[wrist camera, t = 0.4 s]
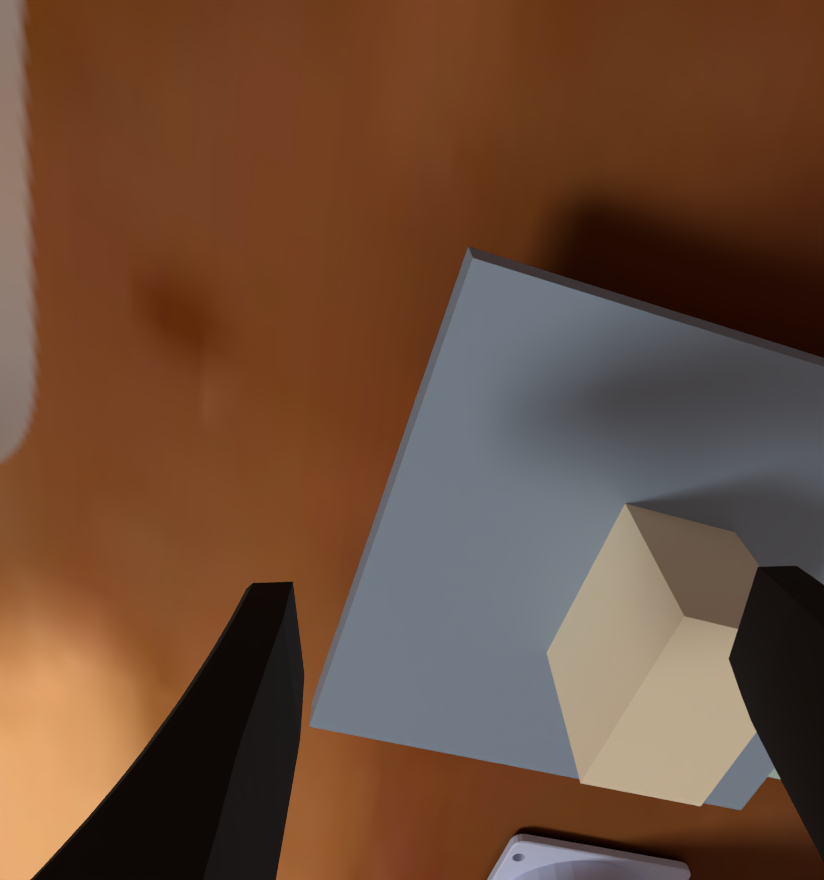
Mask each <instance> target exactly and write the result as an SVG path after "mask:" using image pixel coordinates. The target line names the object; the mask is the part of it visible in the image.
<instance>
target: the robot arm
mask: <svg viewBox="0 0 824 880" xmlns="http://www.w3.org/2000/svg"><path fill="white" fill-rule="evenodd" d="M729 661H730V664H731V667H732V670H733V673H734V676H735V679H736V682H737V685H738V688H739V690H740V693H741V696H742V698H743V701H744V704H745V706H746V709H747V712H748V714H749V717H750V719H751V722H752V724H753V726H754V728H755V730H756V732H757V734H758V736H759V738H760V740H761V742H762V744H763V746H764V748H765V750H766V752H767V754H768V756H769V758H770V760H771V761H772V763H773V765H774V767H775V769H776V771H777V773H778V775H779V777H780V779H781V781H782V783H783V785H784V787H785V789H786V790H787V792H788V794H789V796H790V798H791V800H792V802H793V804H794V806H795V808H796V810H797V812H798V814H799V815H800V817H801V819H802V821H803V823H804V825H805V827H806V829H807V831H808V833H809V835H810V837H811V839H812V840H813V842H814V844H815V846H816V848H817V850H818V852H819V854H820V856H821V858H822V860H823V862H824V585H823V584H822V583H820V582H819V581H818V580H816V579H815V578H814V577H812V576H811V575H809V574H808V573H806V572H805V571H804V570H802V569H801V568H799V567H798V566H768V567H758V568H757V571H756V574H755V577H754V580H753V583H752V587H751V590H750V593H749V596H748V599H747V602H746V605H745V609H744V612H743V615H742V618H741V621H740V624H739V628H738V631H737V634H736V637H735V640H734V643H733V646H732V650H731V653H730V656H729ZM303 687H304V668H303V660H302V652H301V644H300V636H299V628H298V620H297V612H296V604H295V596H294V588H293V582H275V583H253V584H251V585H250V586H249V587H248V588H247V589H246V591H245V593H244V595H243V597H242V598H241V600H240V602H239V604H238V606H237V608H236V610H235V612H234V613H233V615H232V617H231V619H230V621H229V622H228V624H227V626H226V628H225V629H224V631H223V633H222V634H221V636H220V638H219V639H218V641H217V643H216V644H215V646H214V648H213V649H212V651H211V653H210V654H209V656H208V657H207V659H206V660H205V662H204V664H203V665H202V667H201V668H200V670H199V671H198V673H197V674H196V676H195V677H194V679H193V680H192V682H191V683H190V685H189V686H188V688H187V690H186V691H185V693H184V694H183V696H182V697H181V699H180V700H179V701H178V703H177V704H176V706H175V707H174V709H173V710H172V711H171V713H170V714H169V715H168V717H167V718H166V720H165V721H164V722H163V724H162V725H161V726H160V728H159V729H158V730H157V732H156V733H155V735H154V736H153V737H152V739H151V740H150V741H149V743H148V744H147V746H146V747H145V748H144V750H143V751H142V752H141V754H140V755H139V756H138V757H137V759H136V760H135V761H134V763H133V764H132V765H131V766H130V768H129V769H128V770H127V771H126V773H125V774H124V775H123V776H122V778H121V779H120V780H119V781H118V783H117V784H116V785H115V786H114V787H113V789H112V790H111V791H110V792H109V793H108V795H107V796H106V797H105V798H104V799H103V800H102V802H101V803H100V804H99V805H98V806H97V808H96V809H95V810H94V811H93V812H92V813H91V815H90V816H89V817H88V818H87V819H86V820H85V821H84V823H83V824H82V825H81V826H80V827H79V828H78V829H77V830H76V831H75V832H74V834H73V835H72V836H71V837H70V838H69V839H68V840H67V841H66V842H65V843H64V844H63V846H62V847H61V848H60V849H59V850H58V851H57V852H56V853H55V854H54V855H53V857H52V858H51V859H50V860H49V861H48V862H47V863H46V864H45V865H44V866H43V867H42V868H41V869H40V870H39V872H38V873H37V874H36V875H35V876H34V877H33V878H32V879H31V880H276V875H277V869H278V863H279V858H280V852H281V846H282V841H283V835H284V829H285V823H286V818H287V812H288V806H289V800H290V795H291V789H292V783H293V777H294V771H295V766H296V760H297V754H298V748H299V742H300V732H301V718H302V703H303ZM690 876H691V874H690V870H689V868H688V865H687V864H686V863H684V862H681V861H675V860H669V859H664V858H658V857H653V856H647V855H641V854H636V853H630V852H624V851H619V850H613V849H608V848H602V847H596V846H591V845H585V844H580V843H574V842H568V841H563V840H557V839H552V838H546V837H540V836H535V835H529V834H517V835H515V836H513V837H512V839H511V840H510V841H509V843H508V845H507V846H506V848H505V850H504V851H503V853H502V855H501V857H500V858H499V860H498V862H497V863H496V865H495V867H494V868H493V870H492V872H491V874H490V875H489V877H488V879H487V880H688V879H689V878H690Z"/></svg>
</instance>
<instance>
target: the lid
mask: <svg viewBox="0 0 824 880" xmlns="http://www.w3.org/2000/svg"><path fill="white" fill-rule="evenodd" d="M768 566H798V567H799V568H801V569H802V570H804V571H805V572H806V573H808V574H809V575H811V576H812V577H814V578H815V579H816V580H818V581H819V582H820V583H822V584H823V585H824V358H823V357H820V356H816V355H813V354H810V353H807V352H804V351H800V350H797V349H794V348H791V347H788V346H784V345H781V344H778V343H775V342H772V341H768V340H765V339H762V338H759V337H756V336H753V335H749V334H746V333H743V332H740V331H737V330H733V329H730V328H727V327H724V326H721V325H717V324H714V323H711V322H708V321H705V320H701V319H698V318H695V317H692V316H689V315H685V314H682V313H679V312H676V311H673V310H669V309H666V308H663V307H660V306H657V305H653V304H650V303H647V302H644V301H641V300H638V299H634V298H631V297H628V296H625V295H622V294H618V293H615V292H612V291H609V290H606V289H602V288H599V287H596V286H593V285H590V284H586V283H583V282H580V281H577V280H574V279H570V278H567V277H564V276H561V275H558V274H554V273H551V272H548V271H545V270H542V269H538V268H535V267H532V266H529V265H526V264H522V263H519V262H516V261H513V260H510V259H507V258H503V257H500V256H497V255H494V254H491V253H487V252H484V251H481V250H478V249H475V248H471V247H468V248H467V251H466V254H465V257H464V260H463V263H462V266H461V269H460V272H459V275H458V277H457V280H456V283H455V286H454V289H453V292H452V295H451V298H450V301H449V304H448V307H447V310H446V312H445V315H444V318H443V321H442V324H441V327H440V330H439V333H438V336H437V339H436V342H435V344H434V347H433V350H432V353H431V356H430V359H429V362H428V365H427V368H426V371H425V374H424V377H423V379H422V382H421V385H420V388H419V391H418V394H417V397H416V400H415V403H414V406H413V409H412V411H411V414H410V417H409V420H408V423H407V426H406V429H405V432H404V435H403V438H402V441H401V444H400V446H399V449H398V452H397V455H396V458H395V461H394V464H393V467H392V470H391V473H390V476H389V479H388V481H387V484H386V487H385V490H384V493H383V496H382V499H381V502H380V505H379V508H378V511H377V513H376V516H375V519H374V522H373V525H372V528H371V531H370V534H369V537H368V540H367V543H366V546H365V548H364V551H363V554H362V557H361V560H360V563H359V566H358V569H357V572H356V575H355V578H354V580H353V583H352V586H351V589H350V592H349V595H348V598H347V601H346V604H345V607H344V610H343V613H342V615H341V618H340V621H339V624H338V627H337V630H336V633H335V636H334V639H333V642H332V645H331V647H330V650H329V653H328V656H327V659H326V662H325V665H324V668H323V671H322V674H321V677H320V680H319V682H318V685H317V688H316V691H315V694H314V697H313V701H312V709H311V717H310V725H309V727H314V728H319V729H324V730H329V731H335V732H340V733H345V734H350V735H355V736H360V737H366V738H371V739H376V740H381V741H386V742H391V743H397V744H402V745H407V746H412V747H417V748H422V749H427V750H433V751H438V752H443V753H448V754H453V755H458V756H464V757H469V758H474V759H479V760H484V761H489V762H495V763H500V764H505V765H510V766H515V767H520V768H525V769H531V770H536V771H541V772H546V773H551V774H556V775H562V776H567V777H572V778H577V779H580V783H582V784H588V785H593V786H598V787H603V788H608V789H614V790H619V791H624V792H629V793H634V794H639V795H645V796H650V797H655V798H660V799H665V800H671V801H676V802H681V803H686V804H691V805H697V806H701V805H702V804H703V803H706V804H711V805H716V806H721V807H727V808H732V809H737V810H741V809H742V808H743V807H744V806H745V804H746V803H747V802H748V801H749V799H750V798H751V797H752V796H753V794H754V793H755V792H756V790H757V789H758V788H759V787H760V785H761V784H762V783H763V782H764V780H765V779H766V778H767V777H768V775H769V774H770V773H771V772H772V770H773V769H774V768H775V767H774V765H773V763H772V761H771V760H770V758H769V756H768V754H767V752H766V750H765V748H764V746H763V744H762V742H761V740H760V738H759V736H758V734H757V732H756V730H755V728H754V726H753V724H752V722H751V719H750V717H749V714H748V712H747V709H746V706H745V704H744V701H743V698H742V696H741V693H740V690H739V688H738V685H737V682H736V679H735V676H734V673H733V670H732V667H731V664H730V661H729V656H730V653H731V650H732V646H733V643H734V640H735V637H736V634H737V631H738V628H739V624H740V621H741V618H742V615H743V612H744V609H745V605H746V602H747V599H748V596H749V593H750V590H751V587H752V583H753V580H754V577H755V574H756V571H757V568H758V567H768Z"/></svg>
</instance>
